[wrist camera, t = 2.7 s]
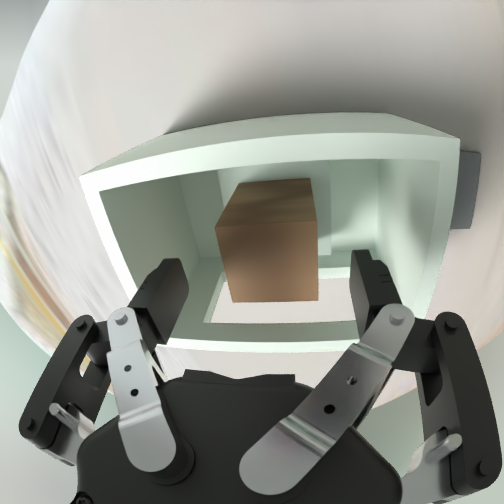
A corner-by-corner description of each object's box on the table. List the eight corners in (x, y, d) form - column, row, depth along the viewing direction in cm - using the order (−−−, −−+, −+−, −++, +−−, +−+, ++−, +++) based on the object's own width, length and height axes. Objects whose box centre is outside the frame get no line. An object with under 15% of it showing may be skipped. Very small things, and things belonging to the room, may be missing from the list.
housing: (387, 113, 16) (460, 139, 8) (381, 253, 22) (414, 343, 14) (161, 135, 19) (78, 176, 11) (195, 262, 26) (154, 345, 17)
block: (310, 177, 16) (317, 220, 11) (313, 240, 19) (318, 300, 14) (238, 183, 17) (214, 227, 12) (249, 243, 20) (232, 302, 15)
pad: (478, 152, 16) (481, 154, 15) (468, 226, 19) (469, 228, 19) (411, 146, 17) (413, 147, 17) (405, 228, 21) (407, 230, 20)
